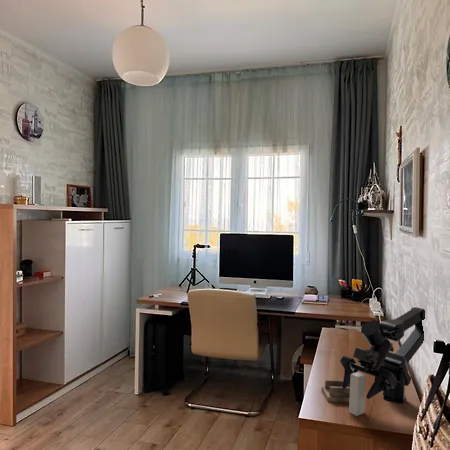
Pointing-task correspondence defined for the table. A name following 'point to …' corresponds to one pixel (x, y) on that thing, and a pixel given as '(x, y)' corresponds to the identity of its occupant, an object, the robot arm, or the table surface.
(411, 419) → the table surface
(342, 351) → the table surface
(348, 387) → the beige rail channel
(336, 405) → the table surface
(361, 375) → the beige rectangular block
